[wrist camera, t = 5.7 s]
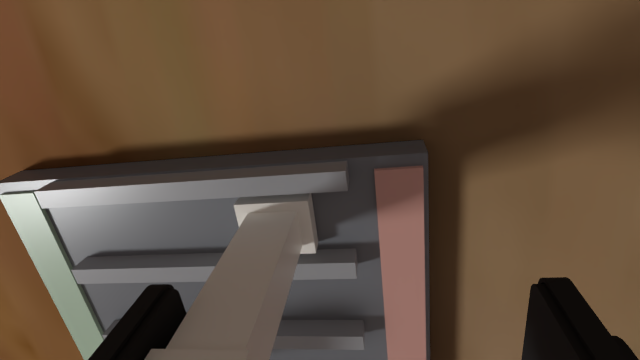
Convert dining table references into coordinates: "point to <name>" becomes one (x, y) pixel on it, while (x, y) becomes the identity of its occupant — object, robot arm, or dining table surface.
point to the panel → (220, 227)
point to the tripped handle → (247, 283)
